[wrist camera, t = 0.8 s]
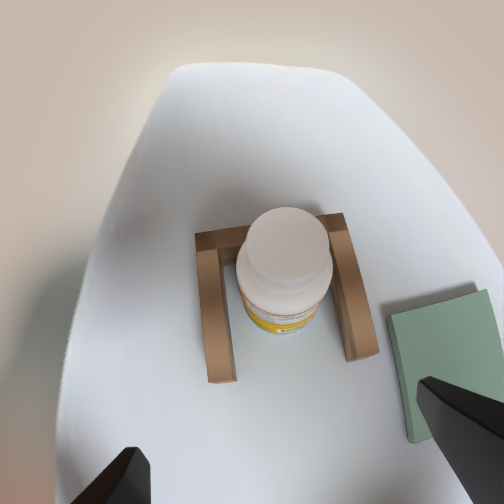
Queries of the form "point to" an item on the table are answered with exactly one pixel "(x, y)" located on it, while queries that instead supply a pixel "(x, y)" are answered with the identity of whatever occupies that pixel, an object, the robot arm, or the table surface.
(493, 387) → the green mat
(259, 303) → the supplement bottle
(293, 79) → the table surface
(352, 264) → the frame
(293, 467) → the table surface
